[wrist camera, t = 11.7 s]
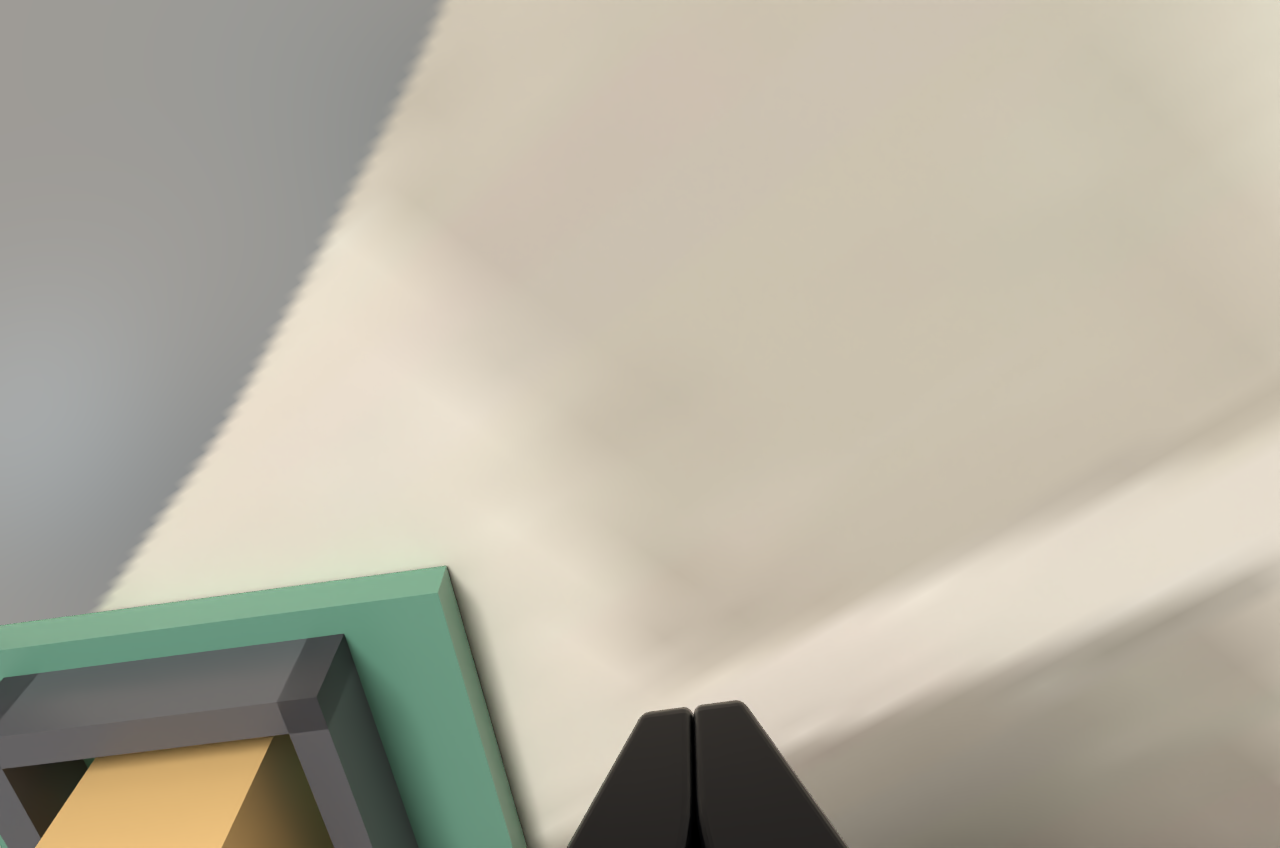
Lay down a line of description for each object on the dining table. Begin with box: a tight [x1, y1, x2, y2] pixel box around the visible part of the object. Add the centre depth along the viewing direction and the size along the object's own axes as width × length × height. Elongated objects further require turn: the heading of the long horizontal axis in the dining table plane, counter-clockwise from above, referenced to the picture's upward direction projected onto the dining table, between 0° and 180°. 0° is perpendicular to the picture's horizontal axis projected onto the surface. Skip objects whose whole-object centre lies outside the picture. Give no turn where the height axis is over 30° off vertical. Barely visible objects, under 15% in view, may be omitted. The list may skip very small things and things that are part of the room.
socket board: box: [0, 566, 527, 848], centre depth 24 cm, size 11×12×3 cm
